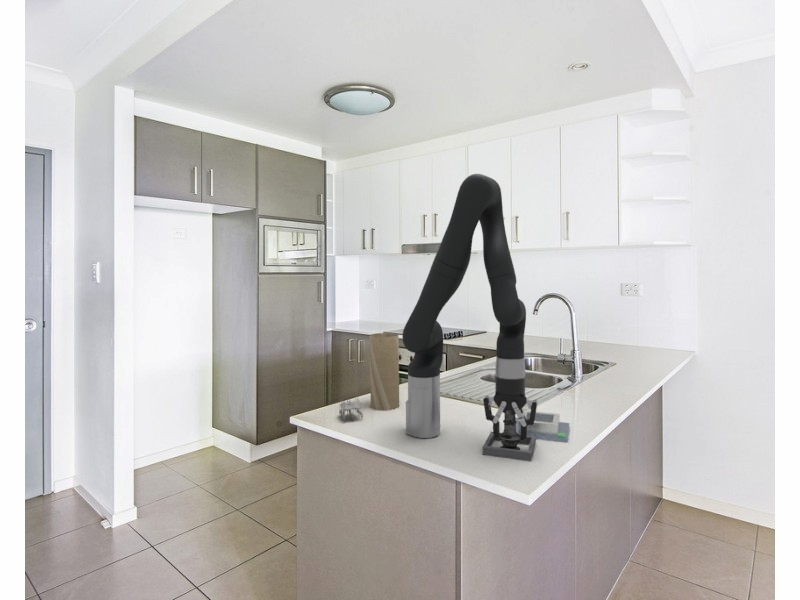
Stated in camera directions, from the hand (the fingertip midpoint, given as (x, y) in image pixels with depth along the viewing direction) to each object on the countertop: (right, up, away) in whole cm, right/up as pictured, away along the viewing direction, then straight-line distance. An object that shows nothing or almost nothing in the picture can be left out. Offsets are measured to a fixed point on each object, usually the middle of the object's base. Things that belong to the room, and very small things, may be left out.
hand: (510, 437), depth 123 cm
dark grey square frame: (0, -3, 0) cm, 3 cm away
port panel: (+12, -2, +14) cm, 18 cm away
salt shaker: (0, -3, 0) cm, 3 cm away
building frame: (-45, -2, +28) cm, 53 cm away
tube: (-34, -1, +41) cm, 53 cm away
